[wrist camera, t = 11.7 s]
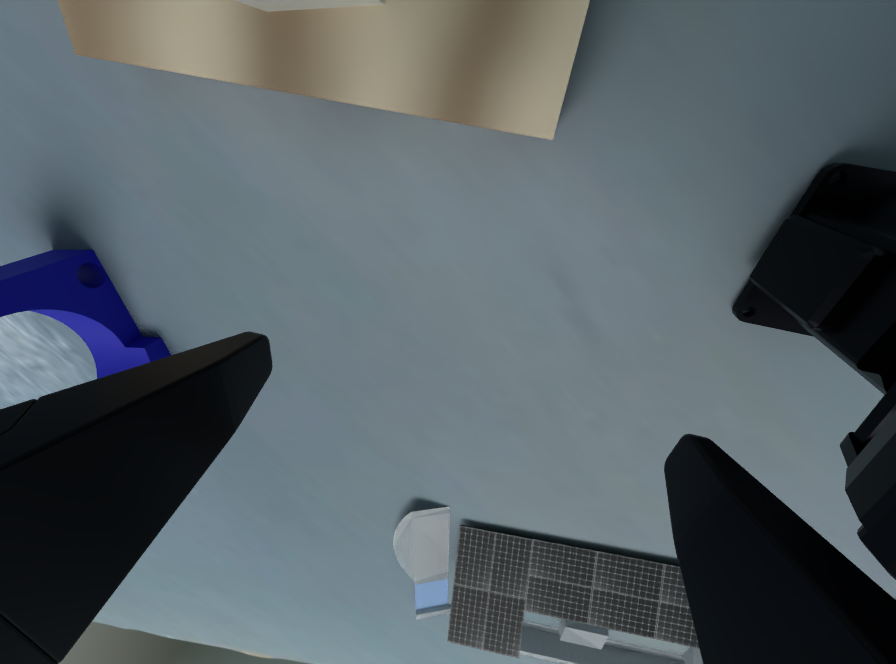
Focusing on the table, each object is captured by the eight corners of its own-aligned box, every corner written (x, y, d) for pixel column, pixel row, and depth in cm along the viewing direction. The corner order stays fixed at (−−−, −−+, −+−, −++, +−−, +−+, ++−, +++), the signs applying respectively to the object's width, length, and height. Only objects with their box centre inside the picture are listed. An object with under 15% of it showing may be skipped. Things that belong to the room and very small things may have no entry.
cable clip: (200, 404, 28) (128, 470, 23) (150, 400, 29) (70, 463, 24) (116, 248, 22) (-7, 291, 17) (56, 248, 23) (-78, 290, 18)
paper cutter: (904, 710, 32) (967, 811, 28) (404, 599, 39) (387, 666, 34) (1099, 615, 23) (1242, 744, 18) (395, 489, 29) (369, 561, 25)
